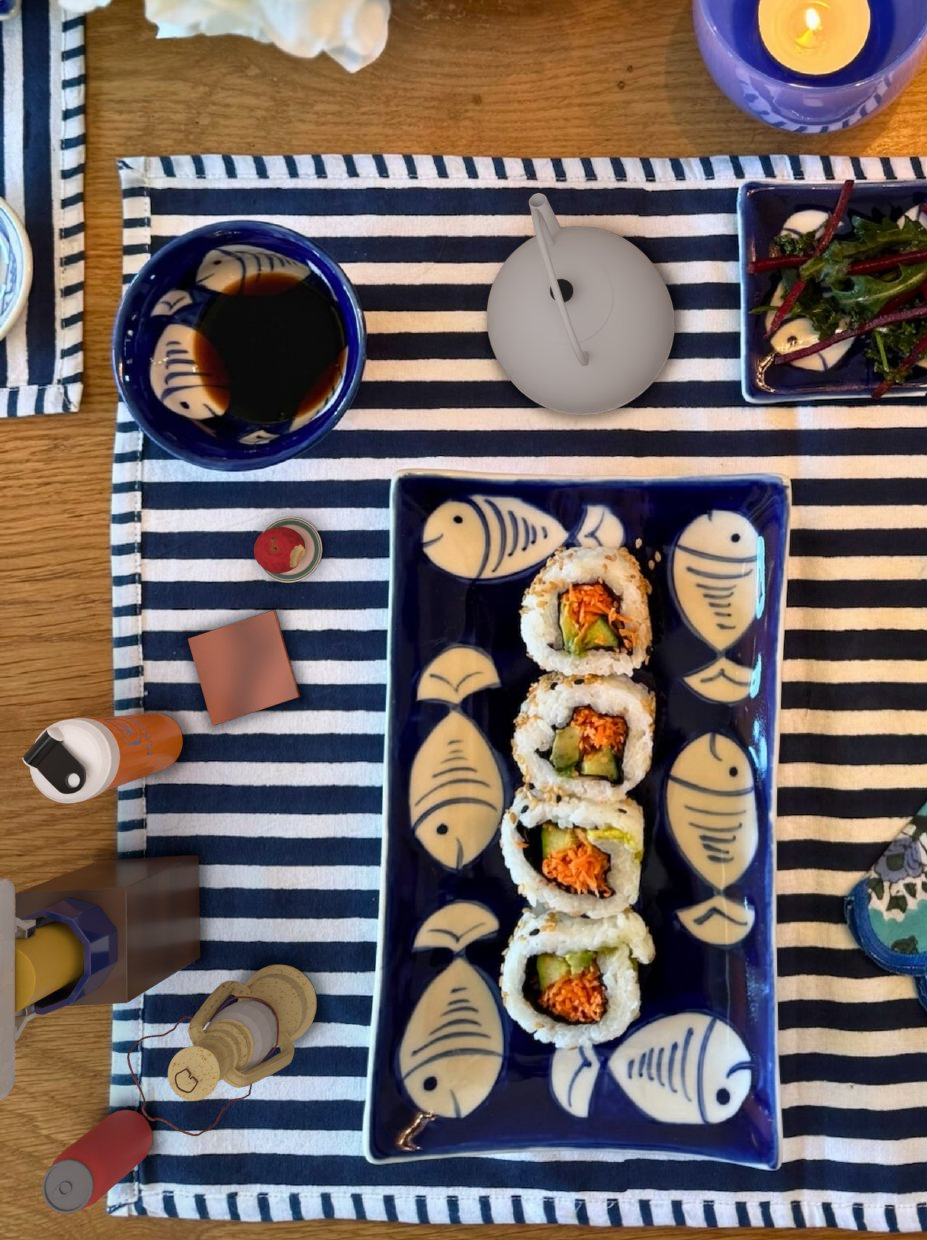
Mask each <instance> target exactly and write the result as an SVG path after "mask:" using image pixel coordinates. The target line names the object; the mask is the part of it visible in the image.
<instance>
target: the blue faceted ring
mask: <svg viewBox="0 0 927 1240" xmlns="http://www.w3.org/2000/svg"><path fill="white" fill-rule="evenodd" d="M43 917H45V918H49V919H52V920H56V921H59V922H63V923H67V924H68V925H69V926H70V928H71V929H72V930H73V932H74V933H75V934H76V936H77V937H78V938H79V940H80V941H81V943H82V944H83V945H84V975H83V977H82V978H81V980H80V981H79V983H78V984H77V986H76V987H75V989H74V990H73V992H68V991H65V990H61V989H58V990H56V991H54V992H53V993H51V994H49V995H47V996H45V997H44V998H42V999H40V1000H38V1001H36V1015H39V1016H45V1015H47V1014H51V1013H52V1012H55V1011H58V1010H60V1009H63V1008H64V1007H69V1006H68V1005H70V1004H73V1003H74V1002H76V1001H78V1000H79V999H81V998H83V997H85V996H86V995H88V994H90V993H92V992H93V991H95V990H97V989H99V988H100V987H101V985H102V984H103V982H104V981H105V979H106V978H107V976H108V975H109V973H110V972H111V970H112V969H113V967H114V966H115V964H116V963H117V929H116V928H115V926H114V925H113V924H112V922H111V921H110V919H109V918H108V917H107V915H106V914H105V913H104V911H103V910H102V909H101V907H100V906H99V905H96V904H92V903H89V902H85V901H81V900H78V899H74V898H67V899H65V900H62V901H60V902H57V903H55V904H52V905H50V906H47V907H44V908H42V909H40V910H37V911H35V912H32V913H30V914H28V915H25V916H23V917H21V918H19V919H21V920H36V928H37V926H38V925H39V923H40V922H41V920H42V919H43Z"/></svg>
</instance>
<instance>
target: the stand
mask: <svg viewBox="0 0 927 1240" xmlns="http://www.w3.org/2000/svg"><path fill="white" fill-rule="evenodd" d="M67 898H74V899H78V900H81V901H85V902H89V903H92V904H96V905H99V906H100V907H101V909H102V910H103V911H104V913H105V914H106V915H107V917H108V918H109V919H110V921H111V922H112V924H113V925H114V926H115V928H116V929H117V963H116V964H115V966H114V967H113V969H112V970H111V972H110V973H109V975H108V976H107V978H106V979H105V981H104V982H103V984H102V985H101V987H100V988H99V989H97V990H95V991H93V992H92V993H90V994H88V995H86V996H85V997H83V998H81V999H79V1000H78V1001H76V1002H74V1003H73V1004H70V1005H68V1006H67V1007H81V1006H98V1005H99V1006H100V1005H117V1004H128V1003H130V1002H131V1001H134V1000H135V999H136V998H138V997H140V996H141V995H143V994H144V993H146V992H147V991H149V990H151V989H152V988H154V987H155V986H157V985H158V984H160V983H162V982H163V981H165V980H167V979H168V978H170V977H172V976H173V975H174V974H176V973H178V972H179V971H181V970H183V969H184V968H186V967H188V965H191V964H192V963H194V962H195V961H197V960H199V959H200V958H201V915H200V914H201V911H200V909H201V907H200V855H199V854H191V855H176V856H175V855H173V856H157V857H156V856H155V857H137V858H121V859H120V858H119V859H103V860H101V859H100V860H97V861H95V862H93V863H91V864H90V863H89V864H88V865H85V866H83V867H79V868H77V869H75V870H72V871H69V872H67V873H64V874H62V875H59V876H57V877H54V878H51V879H48V880H46V881H44V882H41V883H38V884H35V885H33V886H31V887H28V888H25V889H23V890H20V891H18V892H15V917H18V918H21V917H23V916H25V915H28V914H30V913H32V912H35V911H37V910H40V909H42V908H44V907H47V906H50V905H52V904H55V903H57V902H60V901H62V900H65V899H67ZM52 921H54V920H52V919H49V918H45V917H43V919H42V920H41V922H40V923H39V925H38V926H37V928H38V927H40V926H43V925H45V924H47V923H49V922H52ZM82 977H83V976H82ZM82 977H80V978H78V979H76V980H74V981H73V982H71V983H69V984H67V985H65V986H64V987H62V988H60V989H61V990H65V991H68V992H73V990H74V989H75V987H76V986H77V984H78V983H79V981H80V980H81V978H82Z"/></svg>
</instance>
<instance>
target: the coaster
mask: <svg viewBox="0 0 927 1240" xmlns="http://www.w3.org/2000/svg"><path fill="white" fill-rule="evenodd" d="M187 642H188V645H189V649H190V652H191V655H192V659H193V662H194V665H195V666H194V667H195V670H196V673H197V677H198V681H199V684H200V687H201V691H202V694H203V698H204V701H205V705H206V710H207V712H208V716H209V719H210V723H211V726H217V725H220V724H223V723H225V722H228V721H231V720H234V719H238V718H241V717H243V716H247V715H249V714H253V713H256V712H259V711H262V710H265V709H267V708H270V707H273V706H276V705H280V704H282V703H285V702H289V701H292V700H295V699H298V698H300V697H301V694H300V690H299V687H298V684H297V680H296V677H295V673H294V670H293V666H292V663H291V660H290V656H289V652H288V649H287V645H286V642H285V638H284V635H283V632H282V628H281V624H280V621H279V618H278V614H277V611H276V610H270V611H268V612H265V613H261V614H259V615H255V616H252V617H250V618H247V619H243V620H240V621H238V622H234V623H231V624H228V625H225V626H222V627H219V628H216V629H213V630H210V631H207V632H204V633H201V634H198V635H195V636H192V637H189V638H187Z"/></svg>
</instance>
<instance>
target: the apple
mask: <svg viewBox="0 0 927 1240" xmlns="http://www.w3.org/2000/svg"><path fill="white" fill-rule="evenodd" d="M253 554H254V559H255V561H256V562H257V564H258V565H259V566H260V568H261V570H263V572H264V573H265V574H266V575H267V576H268V577H269V578H271V579H273V580H274V581H277V582H280V583H296V582H300V581H302V580H304V579H307V578H308V577H309V576H310V575H312V573H313V572H314V571H315V570H317V568H318V566H319V564H320V562H321V559H322V555H323V543H322V539H321V536H320V534H319V533H318V531H317V529H316V528H315V527H314V526H313V525H312V524H311V523H309V522H308V521H306V520H304V519H302V518H299V517H292V516H290V517H289V516H287V517H282V518H279V519H276V520H274V521H273V522H271V523H270V524H268V525H267V527H266V528H265V529H263V531H262V533H260V535H259V536H258V537H257V538H256V540H255V543H254V547H253Z"/></svg>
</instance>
